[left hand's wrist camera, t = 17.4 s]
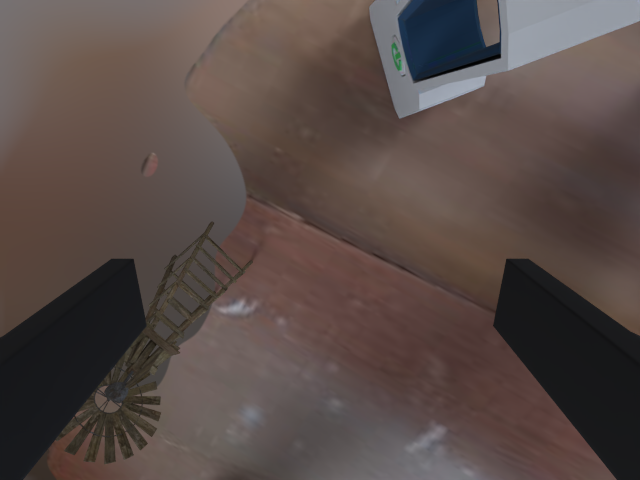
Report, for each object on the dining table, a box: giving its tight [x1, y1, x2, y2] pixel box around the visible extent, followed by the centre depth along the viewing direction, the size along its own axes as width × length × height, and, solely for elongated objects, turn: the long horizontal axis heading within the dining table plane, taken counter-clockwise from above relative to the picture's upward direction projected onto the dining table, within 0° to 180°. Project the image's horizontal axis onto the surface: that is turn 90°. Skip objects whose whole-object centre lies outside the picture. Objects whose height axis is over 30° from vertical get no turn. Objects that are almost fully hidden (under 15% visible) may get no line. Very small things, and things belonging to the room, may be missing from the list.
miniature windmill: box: [55, 222, 253, 464], centre depth 37 cm, size 9×8×30 cm
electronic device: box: [369, 0, 640, 119], centre depth 28 cm, size 12×8×30 cm, turn 20°
